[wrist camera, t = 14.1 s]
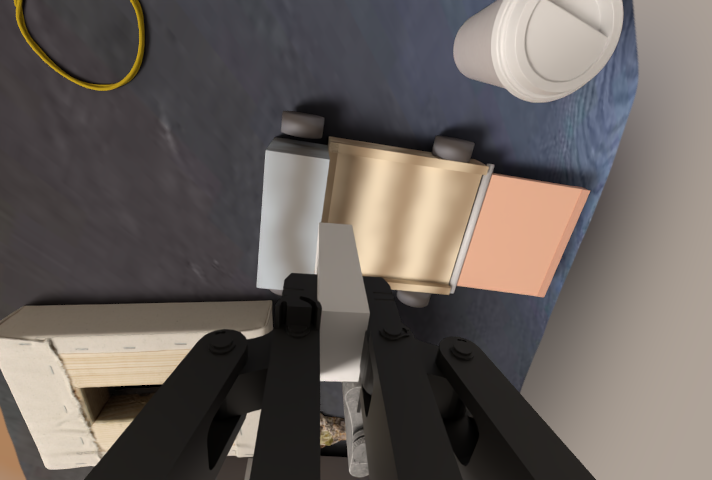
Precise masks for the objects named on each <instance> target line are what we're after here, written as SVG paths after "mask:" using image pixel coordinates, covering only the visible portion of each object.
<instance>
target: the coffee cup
mask: <svg viewBox="0 0 712 480" xmlns="http://www.w3.org/2000/svg"><path fill="white" fill-rule="evenodd" d="M622 24H623V4H622V0H497V1H495V2H494V3H492V4H491V5H489V6H488V7H486V8H485V9H483V10H482V11H480V12H478V13H477V14H475V15H474V16H472V17H471V18H469V19H468V20H467V21H466V22H465V23H464V24H463V25H462V26H461V28H460V29H459V31H458V33H457V35H456V38H455V42H454V48H453V54H454V60H455V63H456V65H457V67H458V69H459V70H460V72H461V73H462V74H463V75H465V76H466V77H468V78H470V79H473V80H477V81H481V82H484V83H488V84H491V85H495V86H499V87H502V88H506V89H507V90H508V91H509V92H510V93H511V94H513V95H514V96H516V97H518V98H520V99H522V100H525V101H528V102H535V103H542V102H549V101H554V100H557V99H560V98H562V97H565V96H567V95H569V94H571V93H573V92H574V91H576V90H578V89H579V88H581V87H582V86H583V85H585V84H586V83H587V82H588V81H589V80H591V79H592V78H593V77H594V76H595V75H597V74H598V73H599V72H600V70H601V69H602V68H603V67H604V66H605V64H606V63H607V62H608V60H609V59H610V57H611V55H612V54H613V52H614V50H615V48H616V45H617V43H618V40H619V37H620V34H621V30H622Z"/></svg>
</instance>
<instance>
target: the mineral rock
mask: <svg viewBox="0 0 712 480" xmlns="http://www.w3.org/2000/svg"><path fill="white" fill-rule="evenodd" d="M340 440H346V427H345V420H344V419H342V418H336V417H326V416H323V415H322V413H320V448H323V447H325V446H326V445H327V446H330V445H332V444H334V443H337V442H338V441H340Z"/></svg>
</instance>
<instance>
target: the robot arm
mask: <svg viewBox="0 0 712 480" xmlns="http://www.w3.org/2000/svg"><path fill="white" fill-rule="evenodd" d="M360 373H361V380H362V383H361V388H360V394H359V400H358V406H357V413H360V410H361V411H362V420H363V428H364V437H365V445H366V454H367V462H368V471H369V479H370V480H596V479H595V478H594V477H593V476H592V475H591V473H590V472H589V471H588V470H587V469H586V468H585V467H584V465H582V463H581V462H580V461H579V460H578V459H577V458H576V456H575V455H574V454H573V453H572V452H571V451H570V450H569V449H568V447H567V446H566V445H565V444H564V443H563V442H562V441H561V439H560V438H559V437H558V436H557V435H556V434H555V433H554V432H553V430H552V429H551V428H550V427H549V426H548V425H547V424H546V422H545V421H544V420H543V419H542V418H541V417H540V416H539V415H538V413H537V412H536V411H535V410H534V409H533V408H532V407H531V406H530V404H529V403H528V402H527V401H526V400H525V399H524V398H523V396H522V395H521V394H520V393H519V392H518V391H517V390H516V388H515V387H514V386H513V385H512V384H511V383H510V382H509V381H508V379H507V378H506V377H505V376H504V375H503V374H502V373H501V371H500V370H499V369H498V368H497V367H496V366H495V365H494V364H493V362H492V361H491V360H490V359H489V358H488V357H487V356H486V354H485V353H484V352H483V351H482V350H481V349H480V348H479V347H478V346H477V345H476V344H474V343H473V342H471V341H469V340H467V339H464V338H460V337H447V338H444V339H443V340H442V341H441V342H440V344H439V346H436V345H432V344H429V343H425V342H422V341H419V340H417V339H415V338H414V336H413V333H412V332H411V330H410V329H409V328H408V327H407V326H405V325H404V324H402V322H401V319H400V315H399V312H398V309H397V306H396V303H395V301H394V297H393V295H392V290H391V287H390V285H389V284H388V283H387V282H386V281H385V280H384V279H383V278H382V277H369V276H362V272H361V267H360V262H359V257H358V252H357V247H356V242H355V237H354V232H353V227H352V225H347V224H335V223H322V222H319V228H318V240H317V251H316V263H315V274H303V273H291V274H290V275H289V276H288V277H287V278H286V279H285V280H284V286H283V292H282V298H281V299H280V300H278V302H277V303H276V305H275V328H274V329H273V330H272V331H270V332H269V333H267V334H265V335H263V336H260V337H256V338H251V339H246V337H245V336H244V335H243V334H242V333H241V332H238V331H236V330H233V329H221V330H215V331H212V332H210V333H208V334H205V335H204V336H203V337H202V338H201V339H200V340H199V341H198V342H197V343H196V344H195V345H194V347H193V348H192V349H191V350H190V351H189V353H188V354H187V355H186V356H185V358H184V359H183V360H182V361H181V362H180V364H179V365H178V366H177V367H176V369H175V370H174V371H173V372H172V373H171V375H170V376H169V377H168V378H167V379H166V381H165V382H164V383H163V384H162V386H161V387H160V388H159V389H158V390H157V392H156V393H155V394H154V395H153V396H152V398H151V399H150V400H149V401H148V403H147V404H146V405H145V406H144V407H143V409H142V410H141V411H140V412H139V414H138V415H137V416H136V417H135V418H134V420H133V421H132V422H131V423H130V424H129V426H128V427H127V428H126V429H125V431H124V432H123V433H122V434H121V435H120V437H119V438H118V439H117V440H116V441H115V443H114V444H113V445H112V446H111V448H110V449H109V450H108V451H107V452H106V454H105V455H104V456H103V457H102V459H101V460H100V461H99V462H98V463H97V465H96V466H95V467H94V468H93V469H92V471H91V472H90V473H89V474H88V476H87V477H86V478H85V479H84V480H215V479H216V477H217V475H218V473H219V471H220V469H221V467H222V465H223V463H224V461H225V459H226V457H227V455H228V453H229V451H230V449H231V447H232V445H233V443H234V441H235V439H236V437H237V435H238V433H239V431H240V429H241V427H242V425H243V423H244V421H245V419H246V416H247V413H250V412H253V411H257V410H260V409H261V413H260V419H259V425H258V431H257V437H256V443H255V449H254V455H253V461H252V467H251V473H250V479H249V480H320V381H348V382H358V380H359V374H360Z"/></svg>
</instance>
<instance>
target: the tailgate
mask: <svg viewBox="0 0 712 480" xmlns="http://www.w3.org/2000/svg"><path fill="white" fill-rule="evenodd" d="M486 165H487V166H489V168H488V172H487V175H483V177H482V180H481V183H480V187H479V190H478V193H477V196H476V200H475V203H474V206H473V209H472V212H471V216H470V219H469V222H468V225H467V229H466V232H465V235H464V238H463V242H462V245H461V248H460V251H459V255H458V258H457V261H456V264H455V267H454V271H453V274H452V277H451V280H450V284H449V286H450V288H451V290H450V293H454V291H455V288H456V285H457V286H463V287H471V288H478V289H486V290H494V291H501V292H509V293H517V294H524V295H532V296H537V297H544V296H545V294H546V292H547V289H548V287H549V285H550V282H551V280H552V278H553V276H554V273H555V271H556V269H557V266H558V264H559V262H560V259H561V257H562V255H563V253H564V250H565V248H566V246H567V243H568V241H569V239H570V237H571V234H572V232H573V230H574V227H575V225H576V223H577V220H578V218H579V216H580V214H581V211H582V209H583V207H584V204H585V202H586V200H587V197H588V195H589V193H590V190H587V189H585V188H583V187H578V186H569V185H563V184H557V183H551V182H545V181H539V180H533V179H527V178H520V177H514V176H508V175H502V174H496V173H492V172H493V169H494V166H495V165H493V164H489V163H487V164H486Z"/></svg>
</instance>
